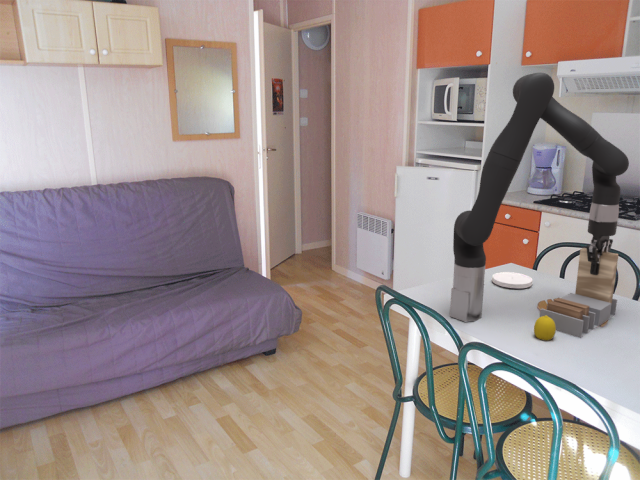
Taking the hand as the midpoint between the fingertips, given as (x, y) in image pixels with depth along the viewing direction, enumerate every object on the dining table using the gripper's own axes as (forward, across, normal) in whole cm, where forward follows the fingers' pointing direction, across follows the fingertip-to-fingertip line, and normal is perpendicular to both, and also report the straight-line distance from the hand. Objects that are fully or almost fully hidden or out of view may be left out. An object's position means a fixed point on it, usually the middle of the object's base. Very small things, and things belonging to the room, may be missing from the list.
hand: (596, 273), depth 157 cm
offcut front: (+13, +19, 0) cm, 23 cm away
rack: (+14, +10, 0) cm, 17 cm away
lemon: (+14, +29, -1) cm, 32 cm away
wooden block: (+9, 0, 0) cm, 9 cm away
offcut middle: (+13, +15, 0) cm, 20 cm away
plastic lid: (+15, -9, -32) cm, 36 cm away
